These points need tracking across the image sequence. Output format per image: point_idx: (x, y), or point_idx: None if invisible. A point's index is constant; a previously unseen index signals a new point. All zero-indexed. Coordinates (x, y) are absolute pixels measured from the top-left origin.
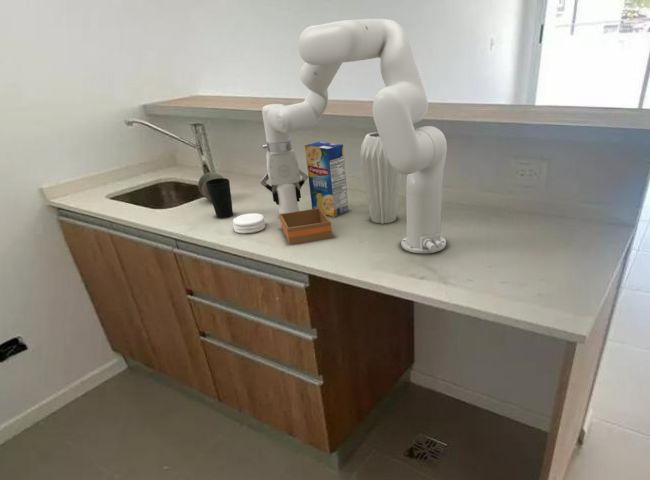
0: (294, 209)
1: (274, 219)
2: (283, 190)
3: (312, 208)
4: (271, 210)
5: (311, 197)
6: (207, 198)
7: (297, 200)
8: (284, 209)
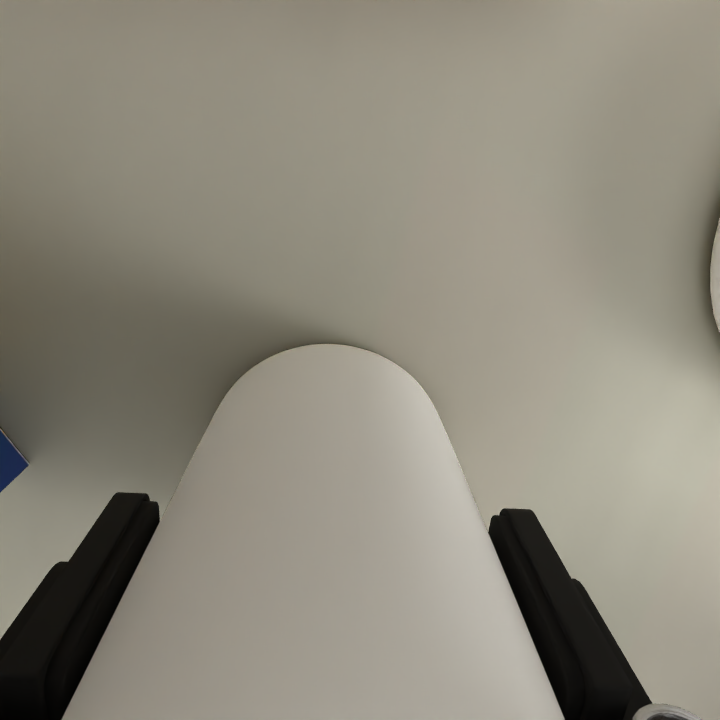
0: (262, 386)
1: (527, 403)
2: (450, 663)
3: (7, 478)
4: None
5: None
6: None
7: (151, 508)
8: (415, 411)
